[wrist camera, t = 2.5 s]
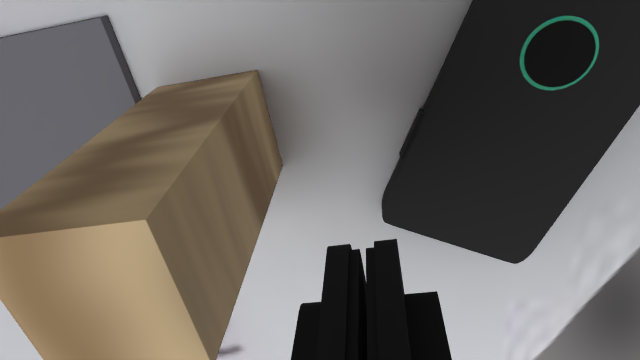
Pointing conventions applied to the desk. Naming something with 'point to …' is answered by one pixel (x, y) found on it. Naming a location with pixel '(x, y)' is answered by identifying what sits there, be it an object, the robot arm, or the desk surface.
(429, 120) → the smart home device
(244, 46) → the desk surface
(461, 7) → the desk surface
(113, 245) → the oak block
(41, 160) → the charcoal mat
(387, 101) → the desk surface
